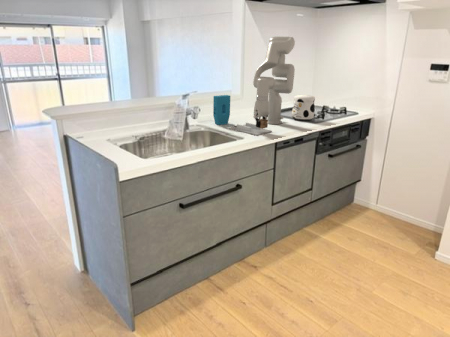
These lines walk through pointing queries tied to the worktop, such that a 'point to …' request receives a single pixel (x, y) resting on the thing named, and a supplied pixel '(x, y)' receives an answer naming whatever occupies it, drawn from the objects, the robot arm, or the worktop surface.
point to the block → (221, 109)
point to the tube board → (250, 129)
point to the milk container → (303, 107)
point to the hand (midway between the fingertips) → (260, 126)
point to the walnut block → (263, 123)
